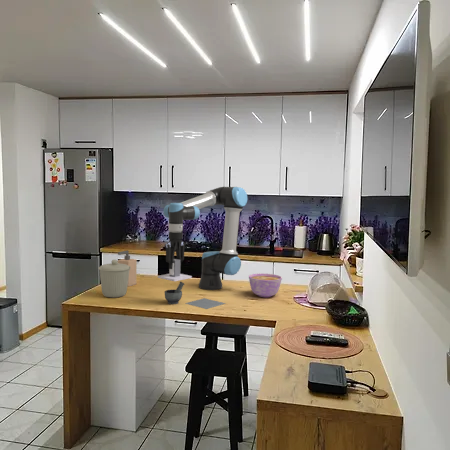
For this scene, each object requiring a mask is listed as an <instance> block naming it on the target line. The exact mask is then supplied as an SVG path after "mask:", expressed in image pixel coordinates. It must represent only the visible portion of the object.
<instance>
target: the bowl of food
mask: <svg viewBox="0 0 450 450" xmlns="http://www.w3.org/2000/svg"><path fill="white" fill-rule="evenodd" d="M248 279H249V280H248V281H249V285H250V289H251V292H252V293H253V294H255V295H257V296H258V297H260V298H271V297H272V296H275V295H276V294H277V293H278V292H279V291H280V287H281V284H282V280H283V277H282V276H280V275H277V274H273V273H252V274H249V275H248Z"/></svg>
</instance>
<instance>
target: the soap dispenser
mask: <svg viewBox="0 0 450 450" xmlns="http://www.w3.org/2000/svg"><path fill="white" fill-rule="evenodd" d="M117 255H119V256H121V255H124V258H121V259H117V261H118V263H120V264H126V265H128V266H130V267H131V268H130V269H129V278H128V286H127V288H128V287H132V286H135V285H137V263H138V262H137V260H138V259H136V258H131V255H129V250H124V251H118V253H117Z"/></svg>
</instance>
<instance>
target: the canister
mask: <svg viewBox="0 0 450 450" xmlns="http://www.w3.org/2000/svg"><path fill="white" fill-rule="evenodd" d="M130 268H131V267H130V266H128V265H126V264H120V263H118V259H112V260H111V262H110V263H105V264H102V265H100V266H98V268H97V269H98V270H99V276H100V279H99V280H100V286H101V293H102V295H103V296H104V297H106V298H114V299H115V298H122V297H124V296H125V295H126V294H127V290H128V287H127V286H128V278H129V269H130Z"/></svg>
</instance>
